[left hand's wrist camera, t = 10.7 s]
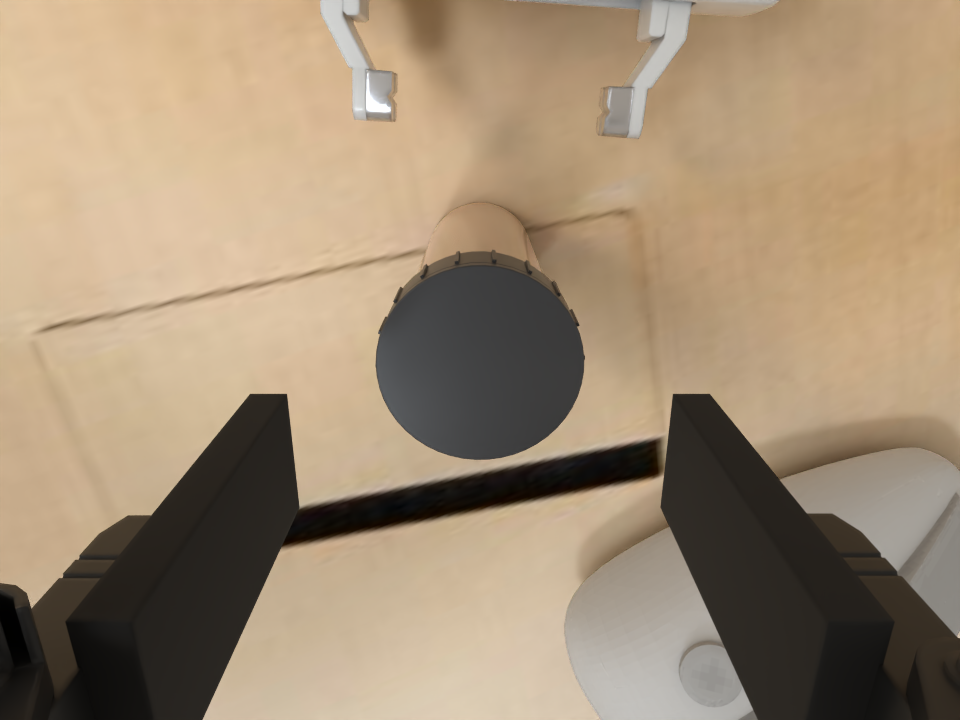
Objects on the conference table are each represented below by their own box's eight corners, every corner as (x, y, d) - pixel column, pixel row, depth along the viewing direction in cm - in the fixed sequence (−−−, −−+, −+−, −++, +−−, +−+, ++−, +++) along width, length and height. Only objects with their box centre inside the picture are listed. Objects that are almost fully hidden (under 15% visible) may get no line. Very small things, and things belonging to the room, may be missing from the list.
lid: (411, 448, 22) (404, 479, 20) (360, 271, 20) (347, 288, 18) (590, 413, 21) (601, 441, 20) (558, 228, 19) (566, 241, 18)
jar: (442, 313, 35) (414, 457, 20) (417, 214, 33) (368, 296, 18) (539, 292, 34) (583, 424, 20) (520, 191, 33) (552, 256, 18)
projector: (867, 736, 45) (1037, 1010, 31) (532, 705, 44) (555, 974, 30) (994, 446, 37) (1293, 640, 24) (591, 401, 36) (658, 577, 23)
